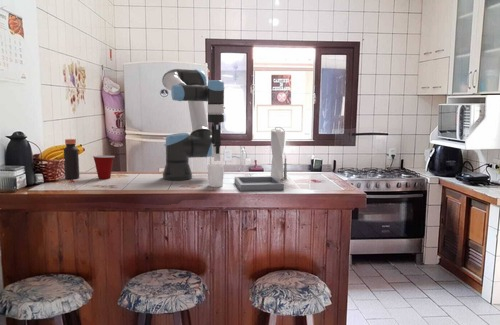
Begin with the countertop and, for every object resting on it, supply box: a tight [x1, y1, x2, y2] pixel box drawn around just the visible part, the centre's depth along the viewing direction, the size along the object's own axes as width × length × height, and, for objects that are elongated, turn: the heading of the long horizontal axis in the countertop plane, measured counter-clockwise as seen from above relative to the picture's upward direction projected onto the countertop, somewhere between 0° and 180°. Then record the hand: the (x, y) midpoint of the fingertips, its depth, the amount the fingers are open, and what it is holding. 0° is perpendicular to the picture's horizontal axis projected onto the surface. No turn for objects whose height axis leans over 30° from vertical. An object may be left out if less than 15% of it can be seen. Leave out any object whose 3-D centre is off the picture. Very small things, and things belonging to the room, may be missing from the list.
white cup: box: [207, 163, 225, 188], centre depth 196 cm, size 8×8×10 cm
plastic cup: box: [92, 154, 116, 180], centre depth 211 cm, size 11×11×12 cm
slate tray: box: [234, 175, 285, 192], centre depth 196 cm, size 20×20×3 cm
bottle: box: [63, 138, 80, 180], centre depth 209 cm, size 7×7×20 cm
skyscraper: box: [270, 126, 288, 182], centre depth 215 cm, size 8×8×28 cm
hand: (215, 159), depth 195 cm, fingers open, 13 cm apart
